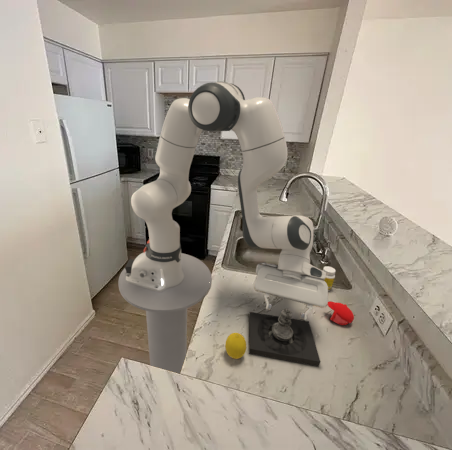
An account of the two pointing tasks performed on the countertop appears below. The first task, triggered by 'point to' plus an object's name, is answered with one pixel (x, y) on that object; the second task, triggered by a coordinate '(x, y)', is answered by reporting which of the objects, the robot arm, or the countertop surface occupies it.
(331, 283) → the supplement bottle
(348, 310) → the cap
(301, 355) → the pad
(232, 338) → the lemon
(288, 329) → the dark grey statuette
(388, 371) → the countertop surface
